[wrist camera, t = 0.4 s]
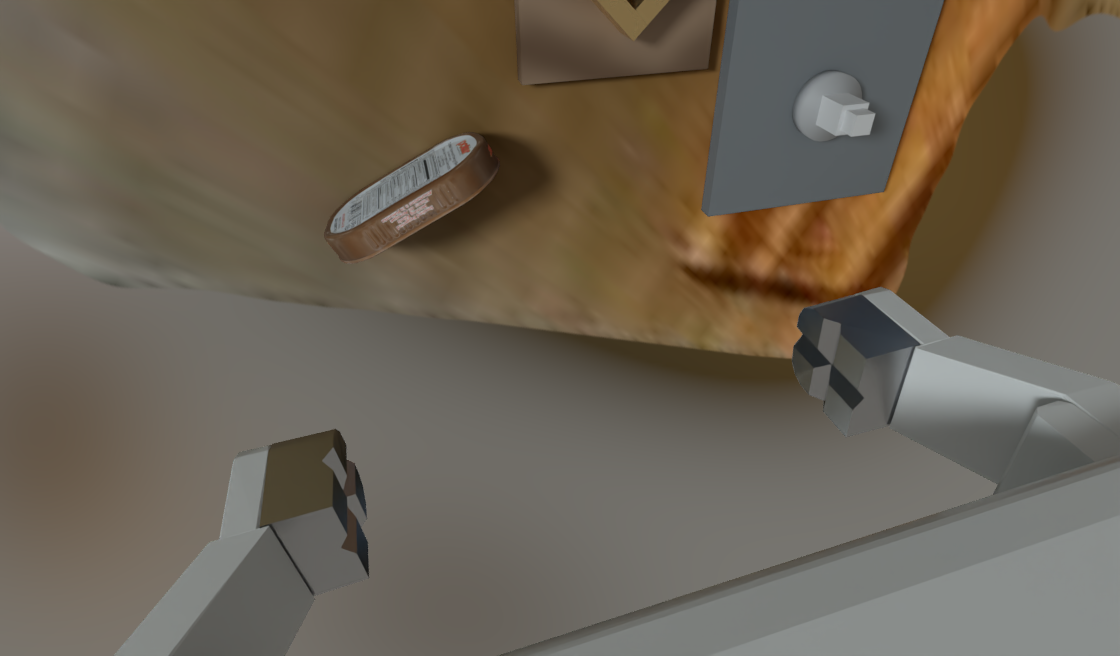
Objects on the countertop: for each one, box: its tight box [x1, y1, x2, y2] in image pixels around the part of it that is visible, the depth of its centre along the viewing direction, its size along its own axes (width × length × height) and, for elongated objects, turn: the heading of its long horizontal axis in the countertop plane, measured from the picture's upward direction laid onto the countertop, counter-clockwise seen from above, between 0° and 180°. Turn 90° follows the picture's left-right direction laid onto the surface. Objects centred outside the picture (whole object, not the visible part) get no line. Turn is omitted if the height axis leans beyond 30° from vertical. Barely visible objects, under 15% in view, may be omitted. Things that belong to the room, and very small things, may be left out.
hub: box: [701, 0, 944, 216], centre depth 57 cm, size 20×20×8 cm
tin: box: [324, 132, 500, 264], centre depth 51 cm, size 15×3×8 cm, turn 116°
